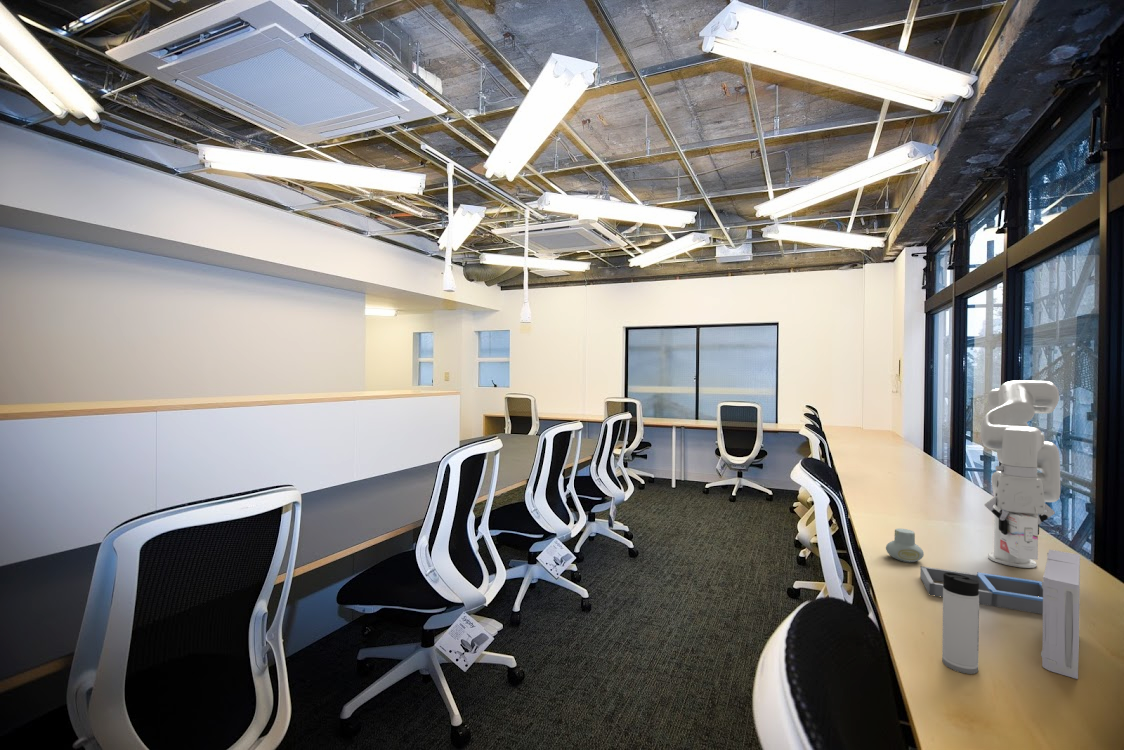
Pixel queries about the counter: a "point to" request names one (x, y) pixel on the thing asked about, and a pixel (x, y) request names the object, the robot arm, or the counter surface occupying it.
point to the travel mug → (960, 623)
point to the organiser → (993, 589)
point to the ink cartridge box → (1021, 535)
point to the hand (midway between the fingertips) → (1018, 534)
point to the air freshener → (904, 546)
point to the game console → (1061, 613)
